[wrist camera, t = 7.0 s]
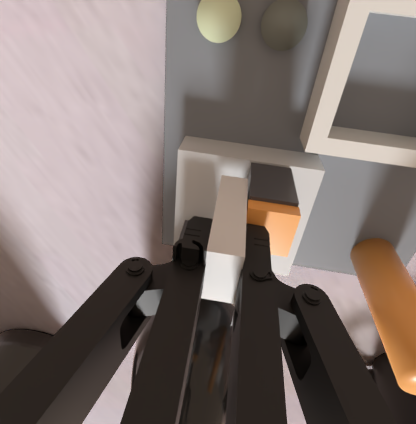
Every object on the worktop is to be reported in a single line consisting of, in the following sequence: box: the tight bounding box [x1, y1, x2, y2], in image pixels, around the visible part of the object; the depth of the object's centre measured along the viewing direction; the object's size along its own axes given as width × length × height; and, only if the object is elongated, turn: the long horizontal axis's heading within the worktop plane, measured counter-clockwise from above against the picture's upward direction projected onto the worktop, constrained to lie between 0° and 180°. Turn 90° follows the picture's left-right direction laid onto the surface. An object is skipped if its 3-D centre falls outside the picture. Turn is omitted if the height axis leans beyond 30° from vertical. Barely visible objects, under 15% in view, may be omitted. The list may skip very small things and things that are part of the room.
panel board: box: [162, 0, 416, 276], centre depth 20 cm, size 20×20×4 cm
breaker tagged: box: [246, 162, 301, 257], centre depth 17 cm, size 2×3×5 cm
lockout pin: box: [350, 238, 416, 395], centre depth 20 cm, size 3×3×10 cm
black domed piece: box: [131, 298, 235, 424], centre depth 26 cm, size 10×10×15 cm
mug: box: [368, 353, 416, 424], centre depth 30 cm, size 8×12×10 cm
